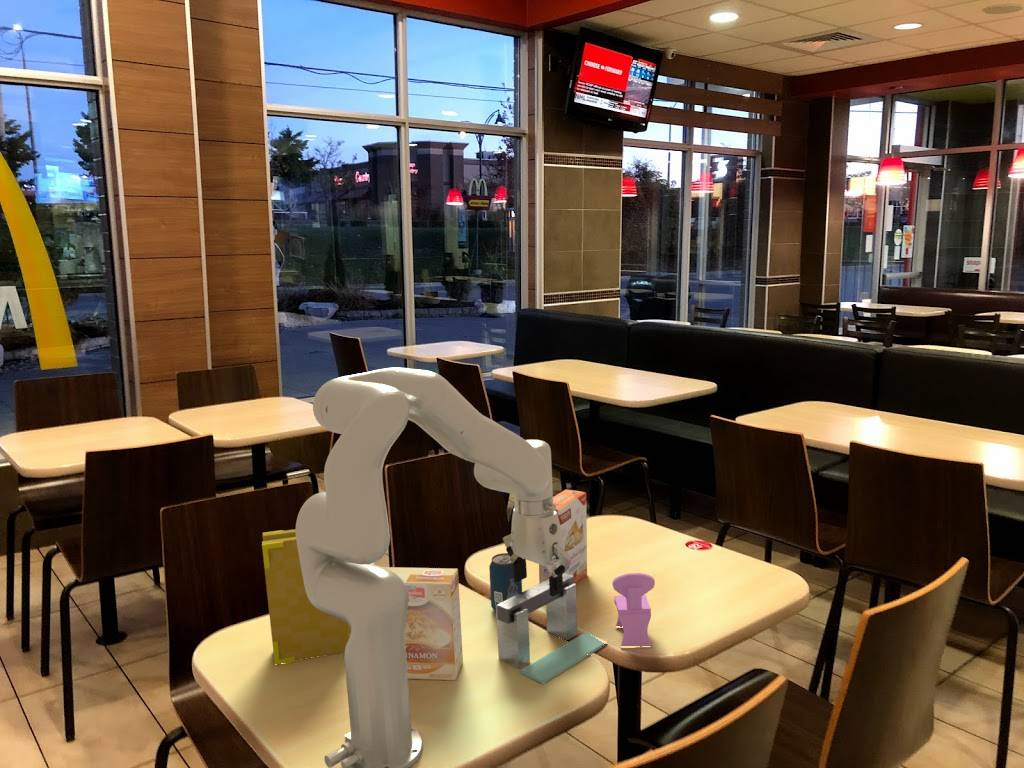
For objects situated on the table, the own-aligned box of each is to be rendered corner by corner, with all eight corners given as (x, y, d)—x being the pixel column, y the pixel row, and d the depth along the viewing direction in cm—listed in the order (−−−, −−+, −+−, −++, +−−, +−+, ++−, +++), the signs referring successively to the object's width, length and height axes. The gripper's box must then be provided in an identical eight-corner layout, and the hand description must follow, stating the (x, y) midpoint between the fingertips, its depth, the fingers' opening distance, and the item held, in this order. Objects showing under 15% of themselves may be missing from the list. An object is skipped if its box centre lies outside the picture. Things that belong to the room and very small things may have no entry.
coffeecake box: (378, 678, 150) (370, 581, 147) (389, 658, 157) (381, 565, 154) (456, 681, 148) (450, 583, 145) (463, 661, 155) (458, 566, 152)
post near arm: (519, 668, 152) (516, 614, 150) (498, 658, 156) (496, 605, 154) (530, 662, 154) (527, 608, 152) (509, 652, 158) (507, 600, 156)
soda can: (502, 600, 180) (499, 549, 178) (528, 606, 177) (526, 555, 175) (485, 613, 175) (482, 561, 172) (512, 619, 171) (510, 567, 169)
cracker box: (561, 598, 180) (559, 509, 176) (538, 593, 183) (535, 505, 179) (589, 574, 192) (587, 491, 188) (567, 570, 195) (564, 487, 191)
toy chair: (649, 626, 166) (649, 557, 163) (657, 647, 157) (656, 576, 155) (609, 627, 166) (608, 559, 163) (615, 649, 157) (613, 577, 155)
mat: (542, 684, 146) (542, 681, 146) (520, 673, 150) (520, 670, 150) (607, 643, 159) (607, 641, 159) (585, 634, 163) (585, 632, 163)
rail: (508, 624, 150) (507, 609, 150) (497, 619, 153) (496, 604, 152) (574, 589, 164) (573, 576, 163) (563, 585, 166) (562, 572, 165)
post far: (567, 640, 162) (566, 589, 160) (547, 631, 165) (545, 581, 163) (577, 634, 164) (575, 584, 162) (556, 626, 168) (555, 576, 166)
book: (274, 665, 157) (261, 544, 152) (275, 649, 163) (262, 532, 158) (362, 650, 161) (352, 532, 156) (359, 635, 167) (349, 521, 163)
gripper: (580, 508, 151) (584, 592, 154) (515, 490, 163) (519, 568, 166) (554, 520, 146) (558, 606, 149) (488, 500, 158) (494, 581, 161)
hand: (538, 586), depth 158 cm, fingers open, 9 cm apart
